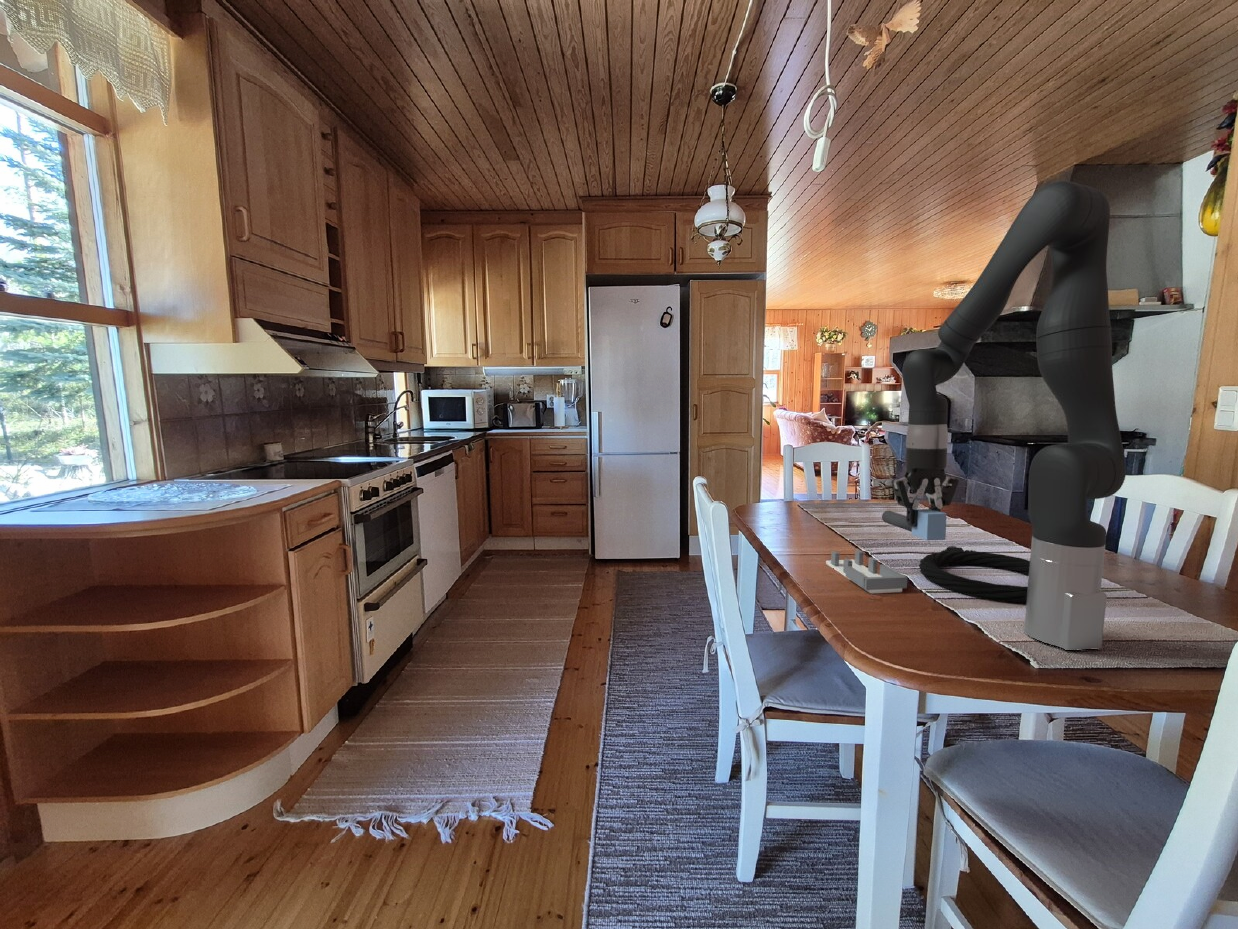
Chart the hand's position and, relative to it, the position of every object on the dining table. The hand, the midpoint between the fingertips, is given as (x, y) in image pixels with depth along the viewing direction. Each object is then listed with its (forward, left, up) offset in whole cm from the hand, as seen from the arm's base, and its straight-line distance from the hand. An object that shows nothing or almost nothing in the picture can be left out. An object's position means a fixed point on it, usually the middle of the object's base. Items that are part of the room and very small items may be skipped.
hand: (923, 525), depth 111 cm
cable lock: (+3, -18, -14) cm, 23 cm away
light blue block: (+4, 0, -2) cm, 5 cm away
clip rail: (+9, +9, -14) cm, 19 cm away
